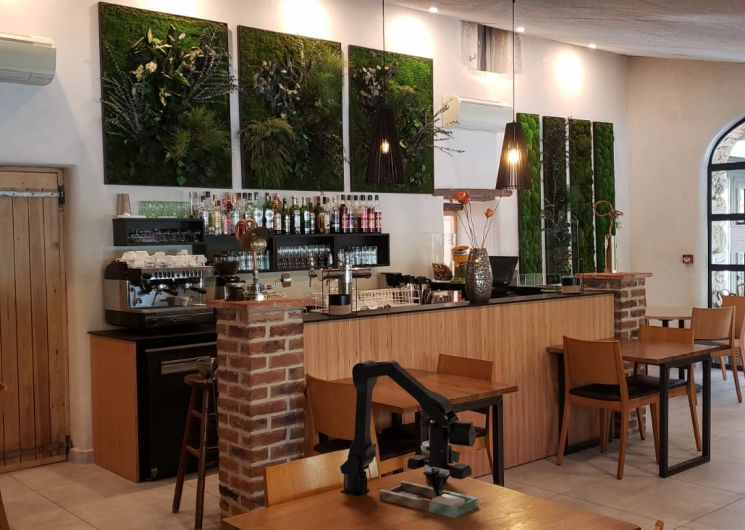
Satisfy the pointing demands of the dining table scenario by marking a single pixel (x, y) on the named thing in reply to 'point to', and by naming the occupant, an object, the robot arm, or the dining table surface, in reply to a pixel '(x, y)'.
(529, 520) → the dining table surface
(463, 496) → the box
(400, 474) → the dining table surface
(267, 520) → the dining table surface
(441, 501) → the ivory block
